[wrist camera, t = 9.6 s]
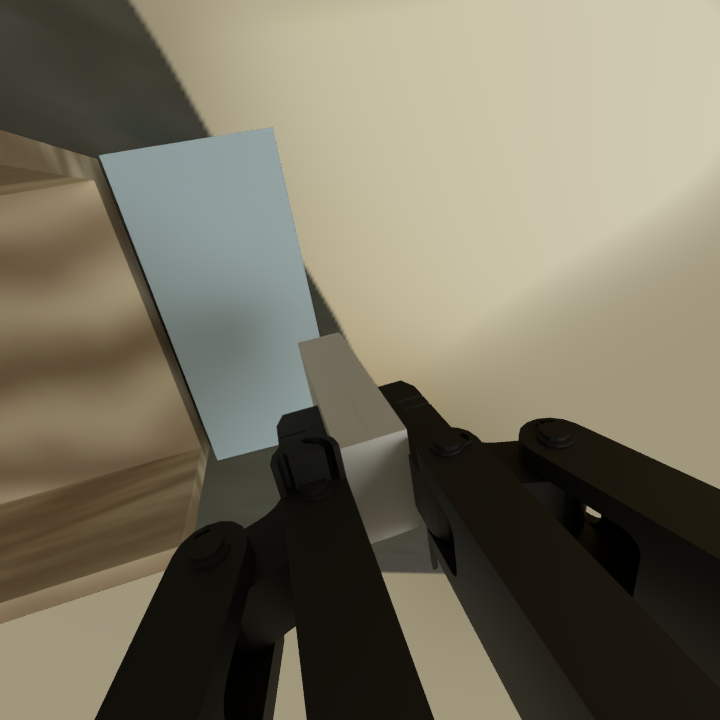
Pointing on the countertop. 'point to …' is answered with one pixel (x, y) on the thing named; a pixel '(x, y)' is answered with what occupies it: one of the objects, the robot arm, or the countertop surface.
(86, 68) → the countertop surface
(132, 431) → the crate
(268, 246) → the panel
